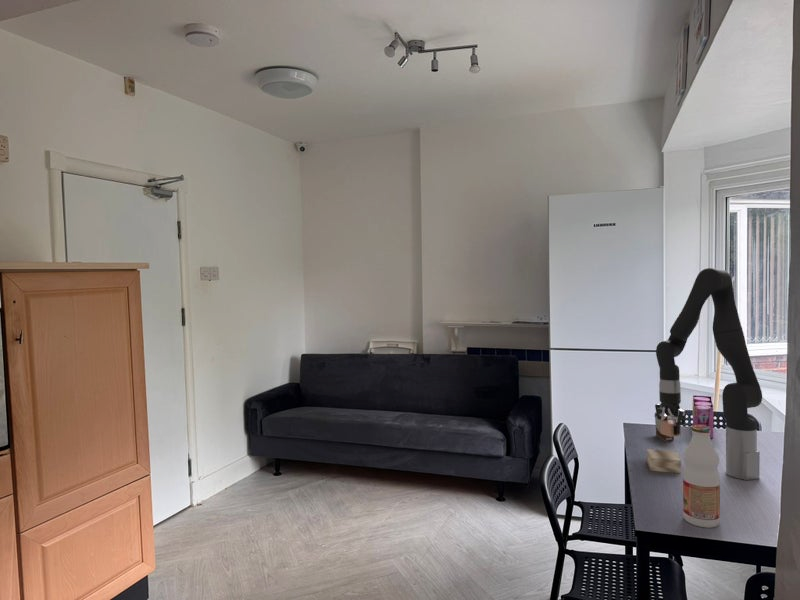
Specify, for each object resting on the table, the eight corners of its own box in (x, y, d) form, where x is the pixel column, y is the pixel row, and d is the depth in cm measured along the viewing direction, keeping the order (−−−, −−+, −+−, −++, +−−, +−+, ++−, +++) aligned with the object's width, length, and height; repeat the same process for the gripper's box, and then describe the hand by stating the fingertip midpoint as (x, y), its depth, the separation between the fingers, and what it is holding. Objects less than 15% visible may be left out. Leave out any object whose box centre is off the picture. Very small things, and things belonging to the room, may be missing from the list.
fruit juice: (704, 531, 149) (704, 433, 148) (675, 517, 158) (675, 425, 156) (727, 524, 152) (727, 429, 151) (698, 511, 161) (698, 420, 160)
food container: (682, 442, 224) (682, 419, 224) (667, 443, 224) (667, 419, 224) (668, 433, 237) (668, 411, 236) (654, 434, 237) (654, 412, 236)
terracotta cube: (680, 435, 208) (680, 422, 208) (670, 437, 207) (670, 424, 207) (670, 432, 213) (670, 419, 213) (661, 433, 212) (660, 421, 212)
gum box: (713, 439, 227) (713, 408, 226) (692, 437, 231) (692, 406, 230) (711, 424, 248) (711, 396, 247) (692, 423, 252) (692, 394, 251)
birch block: (675, 464, 201) (675, 451, 201) (680, 473, 192) (680, 460, 191) (646, 461, 204) (646, 449, 204) (650, 471, 195) (650, 458, 194)
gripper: (692, 392, 204) (693, 436, 204) (663, 386, 218) (664, 427, 218) (676, 394, 202) (677, 438, 202) (648, 388, 215) (649, 429, 216)
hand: (670, 432), depth 210 cm, fingers closed on terracotta cube, 5 cm apart
